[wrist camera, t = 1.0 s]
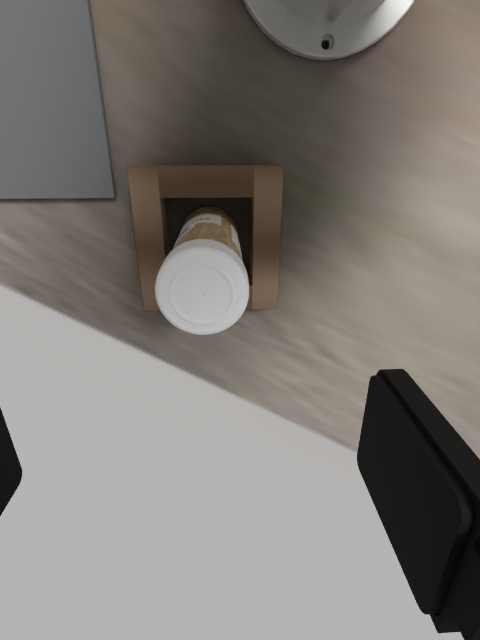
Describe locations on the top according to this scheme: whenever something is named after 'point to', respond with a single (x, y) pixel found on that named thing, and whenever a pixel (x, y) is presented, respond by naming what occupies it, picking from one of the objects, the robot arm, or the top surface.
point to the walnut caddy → (208, 182)
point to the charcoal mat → (51, 103)
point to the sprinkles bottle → (204, 275)
